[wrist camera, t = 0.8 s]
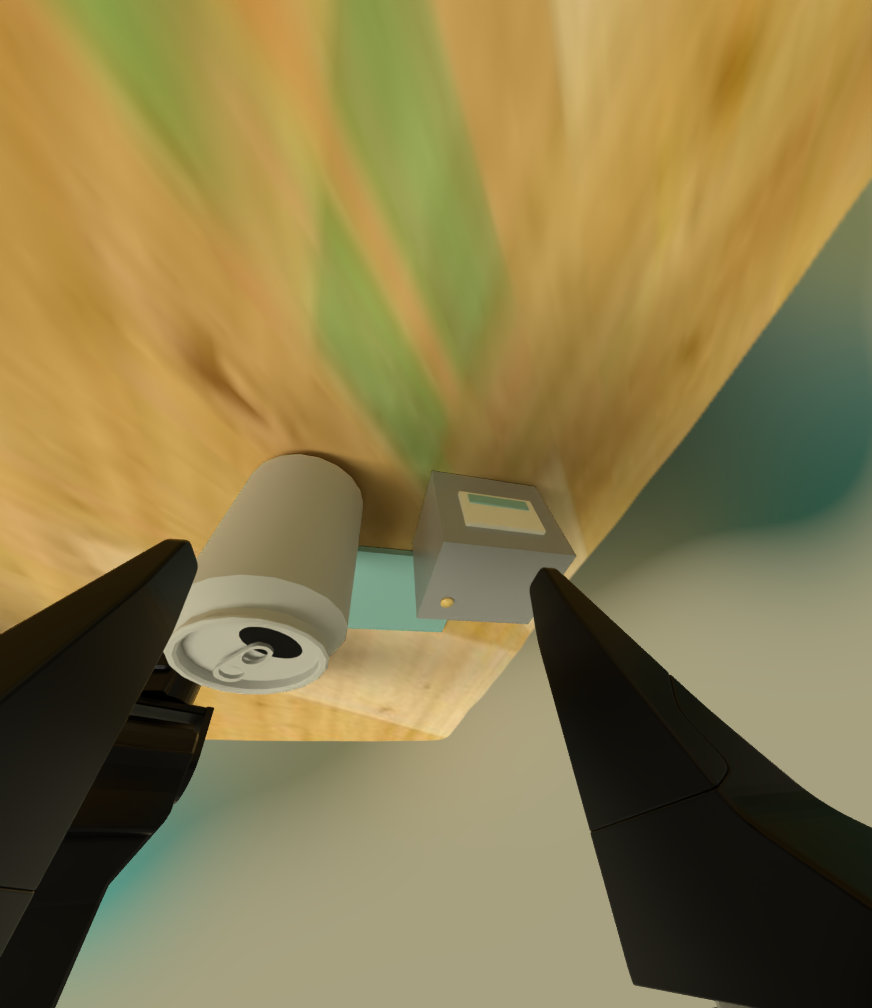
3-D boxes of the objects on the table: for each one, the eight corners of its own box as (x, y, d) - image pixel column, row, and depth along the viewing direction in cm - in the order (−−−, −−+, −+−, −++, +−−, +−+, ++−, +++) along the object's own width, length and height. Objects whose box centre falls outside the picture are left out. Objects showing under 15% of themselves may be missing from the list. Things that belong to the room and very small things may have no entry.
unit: (502, 551, 28) (528, 626, 23) (412, 542, 26) (416, 621, 21) (537, 482, 24) (581, 553, 18) (433, 465, 22) (446, 538, 16)
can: (385, 506, 24) (378, 670, 14) (307, 547, 26) (256, 718, 16) (313, 425, 20) (237, 585, 10) (226, 482, 21) (92, 663, 12)
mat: (441, 627, 35) (441, 632, 34) (334, 622, 32) (333, 627, 32) (471, 556, 28) (473, 562, 28) (342, 544, 26) (341, 549, 25)
